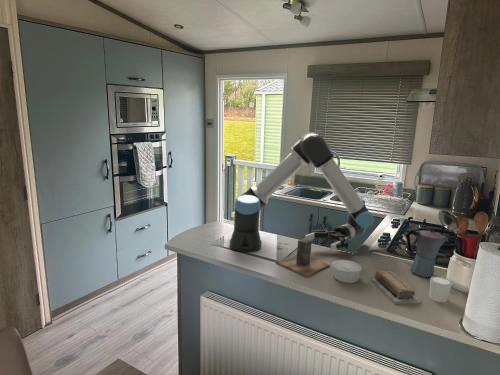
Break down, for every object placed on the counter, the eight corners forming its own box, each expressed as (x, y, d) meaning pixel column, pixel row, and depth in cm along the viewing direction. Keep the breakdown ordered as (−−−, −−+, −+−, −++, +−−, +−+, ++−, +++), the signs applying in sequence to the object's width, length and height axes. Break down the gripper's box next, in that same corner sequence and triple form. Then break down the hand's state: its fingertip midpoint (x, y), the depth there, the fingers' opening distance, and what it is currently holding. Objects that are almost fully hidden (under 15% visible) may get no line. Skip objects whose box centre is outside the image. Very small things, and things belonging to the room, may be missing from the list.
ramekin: (327, 280, 133) (329, 267, 132) (334, 269, 143) (336, 257, 142) (357, 287, 128) (359, 274, 127) (362, 276, 138) (364, 263, 137)
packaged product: (370, 269, 134) (394, 268, 136) (369, 280, 135) (392, 280, 137) (396, 292, 117) (423, 291, 118) (394, 305, 118) (420, 304, 119)
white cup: (426, 299, 122) (429, 281, 120) (428, 291, 127) (431, 274, 126) (448, 306, 118) (451, 287, 117) (449, 297, 124) (452, 279, 123)
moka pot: (445, 281, 137) (453, 233, 133) (403, 275, 140) (411, 228, 136) (437, 271, 146) (445, 226, 142) (398, 266, 149) (405, 222, 145)
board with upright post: (275, 264, 145) (277, 239, 143) (299, 255, 156) (301, 231, 154) (306, 278, 134) (309, 251, 132) (329, 267, 145) (332, 242, 143)
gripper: (366, 248, 157) (342, 260, 143) (321, 233, 174) (294, 242, 160) (368, 232, 156) (344, 243, 141) (322, 219, 173) (296, 227, 158)
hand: (317, 242), depth 150 cm, fingers open, 13 cm apart
